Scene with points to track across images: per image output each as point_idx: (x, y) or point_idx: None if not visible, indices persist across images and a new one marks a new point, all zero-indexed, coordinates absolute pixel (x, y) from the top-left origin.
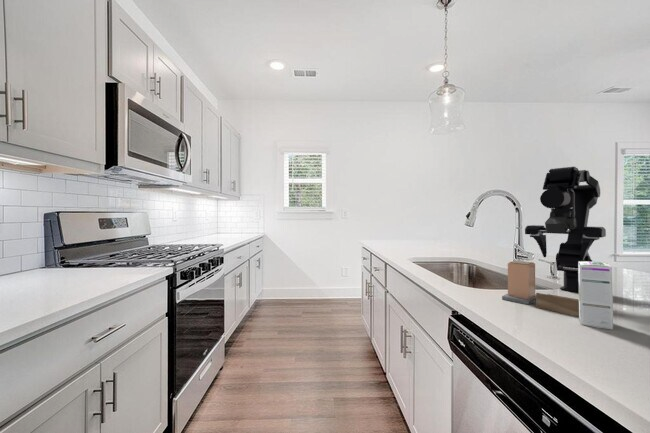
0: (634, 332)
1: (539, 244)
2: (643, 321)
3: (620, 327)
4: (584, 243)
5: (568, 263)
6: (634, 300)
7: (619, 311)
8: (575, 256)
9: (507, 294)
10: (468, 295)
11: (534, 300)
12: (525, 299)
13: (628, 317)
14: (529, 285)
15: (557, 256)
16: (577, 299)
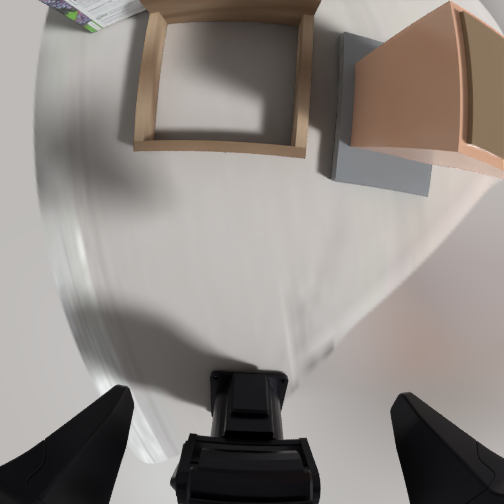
0: (58, 13)
1: (489, 457)
2: (35, 132)
3: None
4: (16, 495)
5: (260, 460)
6: (101, 368)
7: (80, 197)
8: (227, 495)
9: None
10: None
11: (339, 98)
12: (362, 53)
13: (58, 140)
14: (381, 58)
15: (313, 489)
16: (178, 144)
